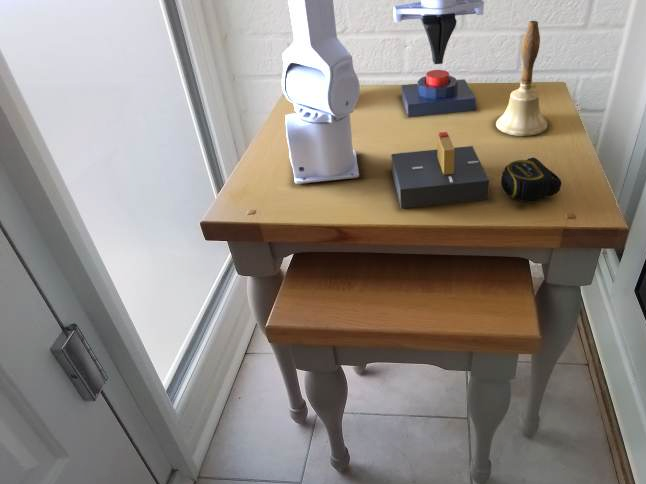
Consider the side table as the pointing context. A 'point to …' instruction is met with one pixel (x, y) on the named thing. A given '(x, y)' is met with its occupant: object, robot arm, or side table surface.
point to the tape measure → (529, 180)
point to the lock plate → (438, 178)
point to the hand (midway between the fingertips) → (437, 62)
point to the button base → (437, 97)
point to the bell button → (437, 78)
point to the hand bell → (525, 93)
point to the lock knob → (445, 153)
